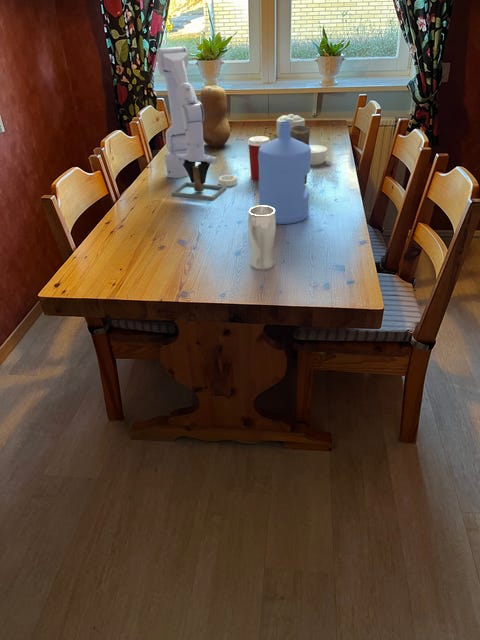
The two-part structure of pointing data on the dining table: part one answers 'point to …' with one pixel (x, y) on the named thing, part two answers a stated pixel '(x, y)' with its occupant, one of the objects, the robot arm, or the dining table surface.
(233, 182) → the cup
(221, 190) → the tray
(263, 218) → the beer glass
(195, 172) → the dowel
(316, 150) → the ramekin
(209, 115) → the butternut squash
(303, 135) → the brown rounded cylinder
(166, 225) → the dining table surface
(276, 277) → the dining table surface
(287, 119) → the lumpy-topped squat cylinder
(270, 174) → the water jug
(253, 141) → the coffee cup
